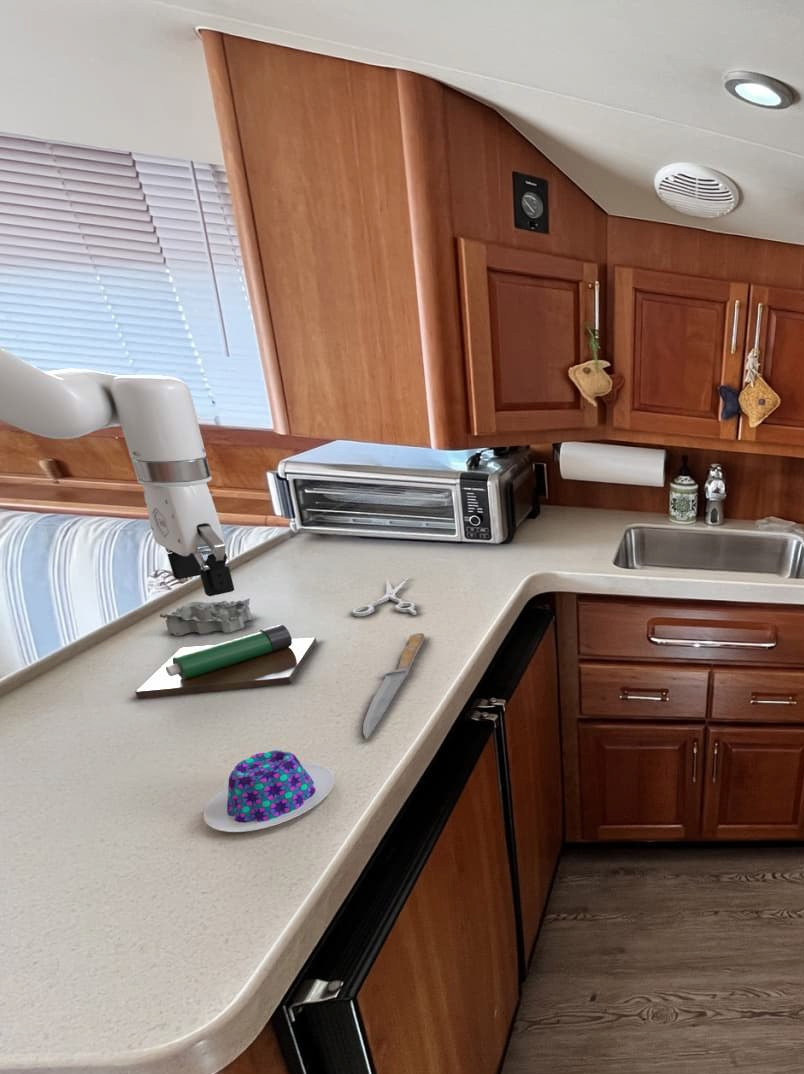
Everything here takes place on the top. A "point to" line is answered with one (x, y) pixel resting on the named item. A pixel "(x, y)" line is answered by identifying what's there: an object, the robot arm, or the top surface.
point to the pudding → (267, 792)
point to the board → (233, 672)
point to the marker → (230, 652)
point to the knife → (391, 684)
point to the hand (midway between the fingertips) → (204, 584)
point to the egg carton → (208, 617)
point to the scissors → (388, 596)
